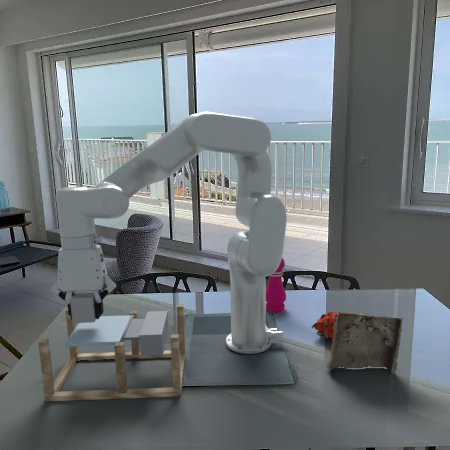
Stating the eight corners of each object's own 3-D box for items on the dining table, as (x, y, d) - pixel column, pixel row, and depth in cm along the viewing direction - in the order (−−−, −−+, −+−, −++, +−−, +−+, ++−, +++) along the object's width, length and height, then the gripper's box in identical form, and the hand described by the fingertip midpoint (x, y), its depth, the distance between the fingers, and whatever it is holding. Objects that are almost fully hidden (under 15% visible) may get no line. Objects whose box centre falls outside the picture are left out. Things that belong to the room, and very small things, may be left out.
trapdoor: (168, 327, 106) (167, 309, 105) (162, 357, 92) (161, 336, 91) (85, 330, 106) (83, 312, 105) (65, 360, 91) (63, 339, 90)
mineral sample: (328, 375, 99) (330, 315, 96) (325, 366, 103) (327, 308, 100) (400, 375, 98) (404, 315, 95) (394, 366, 102) (398, 308, 99)
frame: (185, 354, 110) (183, 304, 107) (180, 396, 92) (178, 337, 89) (72, 358, 109) (67, 307, 106) (45, 401, 91) (38, 342, 88)
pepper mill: (271, 303, 143) (271, 247, 139) (289, 308, 139) (290, 250, 135) (260, 310, 137) (260, 252, 133) (279, 315, 133) (280, 255, 129)
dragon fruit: (358, 346, 116) (314, 349, 118) (352, 319, 122) (311, 323, 124) (358, 331, 110) (312, 335, 112) (352, 303, 115) (309, 308, 118)
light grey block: (100, 313, 100) (98, 289, 99) (94, 322, 95) (92, 297, 94) (79, 314, 100) (76, 290, 99) (72, 323, 95) (69, 298, 94)
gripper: (120, 236, 98) (126, 309, 101) (47, 239, 97) (55, 312, 101) (113, 244, 90) (119, 322, 94) (33, 247, 90) (43, 325, 94)
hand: (86, 316), depth 97 cm, fingers closed on light grey block, 5 cm apart
